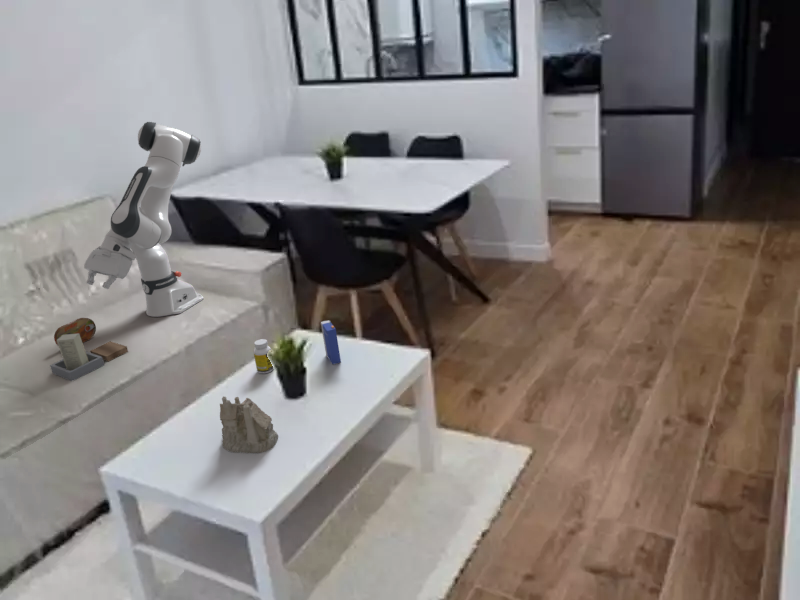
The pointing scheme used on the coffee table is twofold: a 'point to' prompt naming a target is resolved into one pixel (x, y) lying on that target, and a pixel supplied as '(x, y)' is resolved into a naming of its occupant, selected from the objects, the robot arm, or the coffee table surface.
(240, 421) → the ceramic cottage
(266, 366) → the supplement bottle
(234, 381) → the coffee table surface
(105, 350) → the riser
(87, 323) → the tin
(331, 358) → the walkman
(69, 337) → the skincare box
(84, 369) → the bin
